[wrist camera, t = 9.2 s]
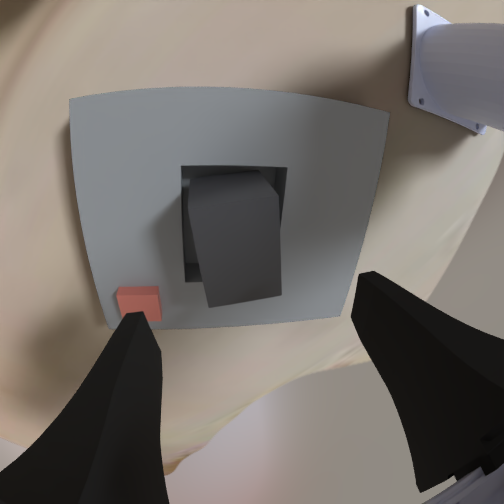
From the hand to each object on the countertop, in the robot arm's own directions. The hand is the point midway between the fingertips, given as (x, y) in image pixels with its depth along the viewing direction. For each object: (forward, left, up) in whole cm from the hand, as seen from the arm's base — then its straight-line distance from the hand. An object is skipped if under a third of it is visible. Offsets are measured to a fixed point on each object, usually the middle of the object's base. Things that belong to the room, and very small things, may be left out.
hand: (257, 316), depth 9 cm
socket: (0, 0, -9) cm, 9 cm away
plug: (0, 0, -8) cm, 9 cm away
